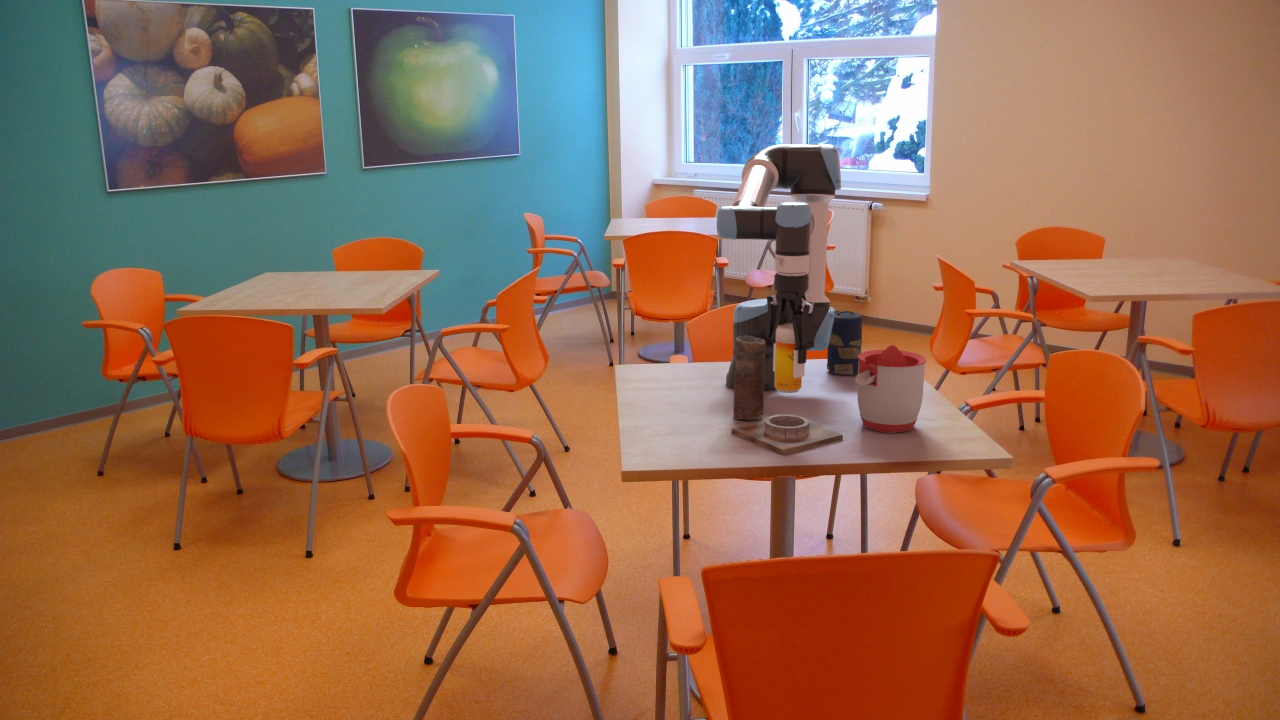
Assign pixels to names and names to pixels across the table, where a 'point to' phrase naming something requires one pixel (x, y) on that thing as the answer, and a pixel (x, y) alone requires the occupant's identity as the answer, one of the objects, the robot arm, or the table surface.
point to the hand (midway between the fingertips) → (788, 373)
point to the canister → (845, 343)
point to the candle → (749, 377)
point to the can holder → (786, 434)
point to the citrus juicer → (890, 388)
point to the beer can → (785, 360)
